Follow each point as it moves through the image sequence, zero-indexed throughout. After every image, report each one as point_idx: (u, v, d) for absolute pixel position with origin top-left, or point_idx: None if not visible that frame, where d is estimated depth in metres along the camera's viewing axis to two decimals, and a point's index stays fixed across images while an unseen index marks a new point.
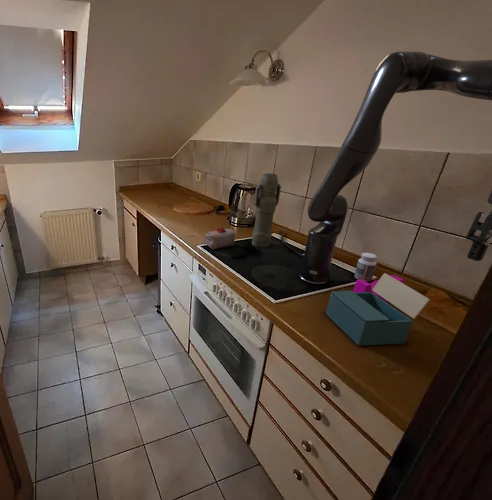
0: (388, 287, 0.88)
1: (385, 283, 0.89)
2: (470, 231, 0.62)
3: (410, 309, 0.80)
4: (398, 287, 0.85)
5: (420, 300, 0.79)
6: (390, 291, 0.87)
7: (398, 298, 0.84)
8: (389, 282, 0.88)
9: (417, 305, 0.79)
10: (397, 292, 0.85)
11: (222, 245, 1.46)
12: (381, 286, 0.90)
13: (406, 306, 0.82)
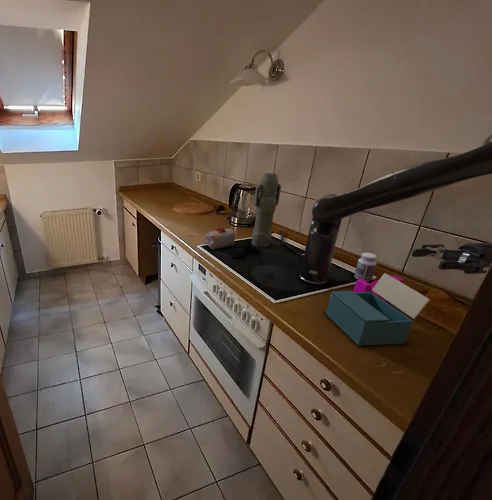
0: (388, 287, 0.88)
1: (385, 283, 0.89)
2: (477, 266, 0.74)
3: (410, 309, 0.80)
4: (398, 287, 0.85)
5: (420, 300, 0.79)
6: (390, 291, 0.87)
7: (398, 298, 0.84)
8: (389, 282, 0.88)
9: (417, 305, 0.79)
10: (397, 292, 0.85)
11: (222, 245, 1.46)
12: (381, 286, 0.90)
13: (406, 306, 0.82)
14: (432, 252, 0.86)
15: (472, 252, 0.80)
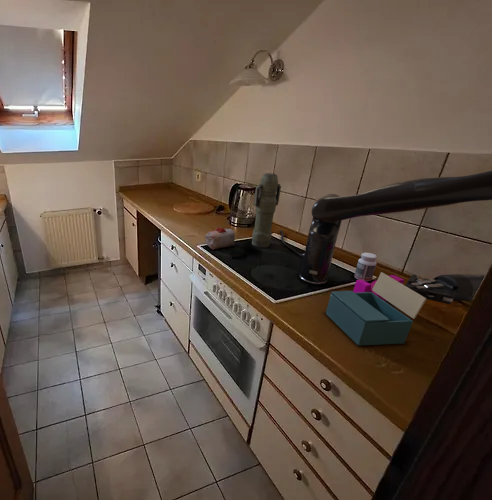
0: (387, 287, 0.88)
1: (383, 283, 0.89)
2: (433, 293, 0.80)
3: (409, 309, 0.80)
4: (395, 286, 0.85)
5: (417, 300, 0.79)
6: (389, 291, 0.87)
7: (396, 298, 0.84)
8: (387, 282, 0.88)
9: (415, 305, 0.79)
10: (395, 292, 0.85)
11: (222, 245, 1.46)
12: (380, 286, 0.90)
13: (405, 306, 0.82)
14: None
15: (447, 284, 0.83)
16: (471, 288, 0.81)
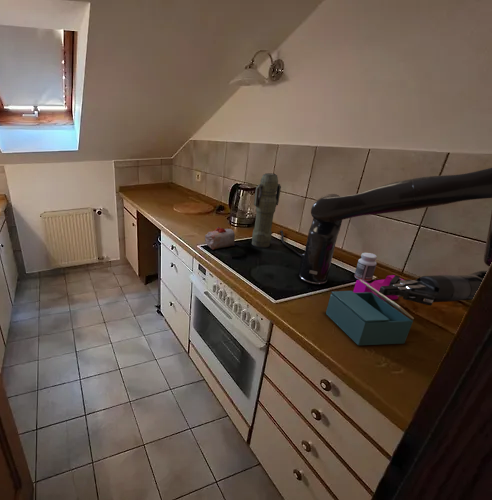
0: (375, 292, 0.88)
1: (369, 288, 0.90)
2: (414, 294, 0.80)
3: (403, 312, 0.81)
4: (377, 293, 0.86)
5: (397, 307, 0.79)
6: (379, 295, 0.87)
7: (388, 301, 0.85)
8: (370, 288, 0.89)
9: (401, 310, 0.79)
10: (382, 297, 0.85)
11: (222, 245, 1.46)
12: (371, 289, 0.90)
13: None
14: None
15: (428, 285, 0.83)
16: (453, 289, 0.81)
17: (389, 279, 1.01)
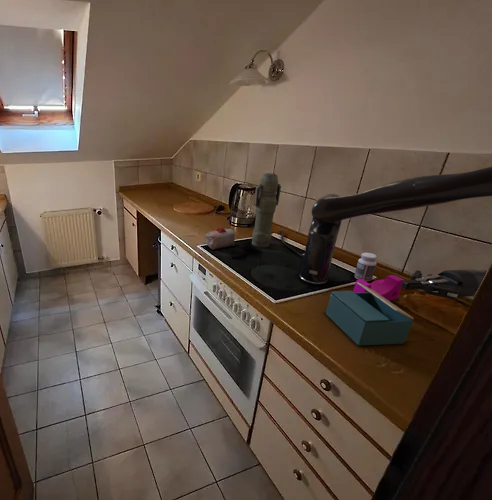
0: None
1: None
2: (437, 288, 0.80)
3: None
4: (375, 295, 0.86)
5: None
6: (378, 296, 0.88)
7: (387, 302, 0.85)
8: None
9: None
10: None
11: (222, 245, 1.46)
12: None
13: (398, 309, 0.82)
14: None
15: (451, 279, 0.83)
16: (476, 284, 0.80)
17: (389, 279, 1.01)
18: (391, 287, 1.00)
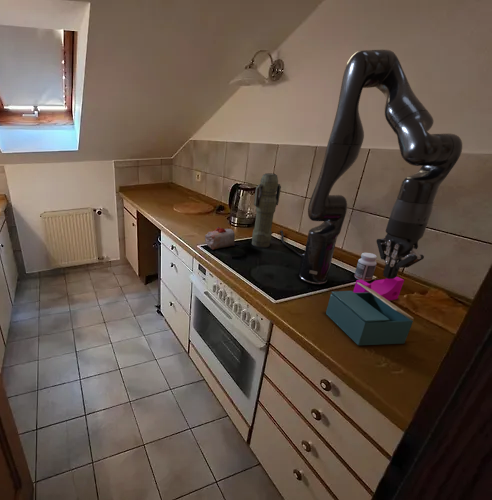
0: None
1: None
2: (403, 265, 0.77)
3: None
4: (375, 295, 0.86)
5: None
6: (378, 296, 0.88)
7: (387, 302, 0.85)
8: None
9: None
10: None
11: (222, 245, 1.46)
12: None
13: (398, 309, 0.82)
14: None
15: None
16: (413, 224, 0.73)
17: (389, 279, 1.01)
18: (391, 287, 1.00)
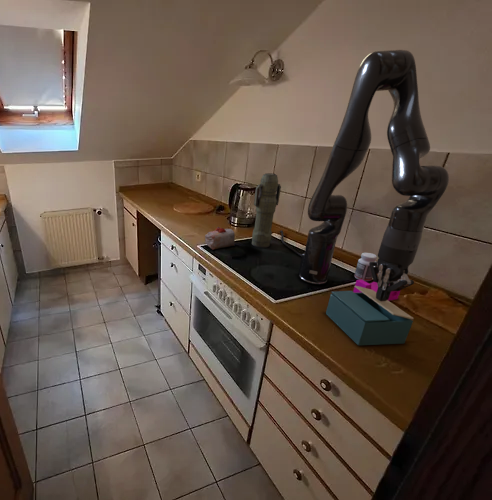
0: None
1: None
2: (394, 289, 0.80)
3: None
4: None
5: None
6: None
7: None
8: None
9: None
10: None
11: (222, 245, 1.46)
12: None
13: None
14: None
15: None
16: (403, 251, 0.76)
17: None
18: None
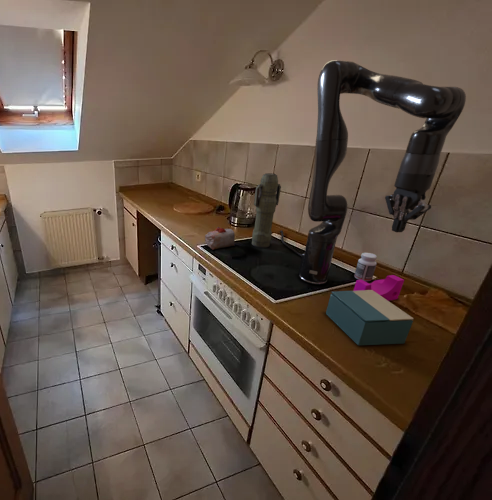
0: None
1: None
2: (411, 216, 0.81)
3: None
4: None
5: None
6: None
7: None
8: None
9: None
10: None
11: (222, 245, 1.46)
12: None
13: None
14: None
15: None
16: (421, 175, 0.77)
17: (389, 279, 1.01)
18: (391, 287, 1.00)
